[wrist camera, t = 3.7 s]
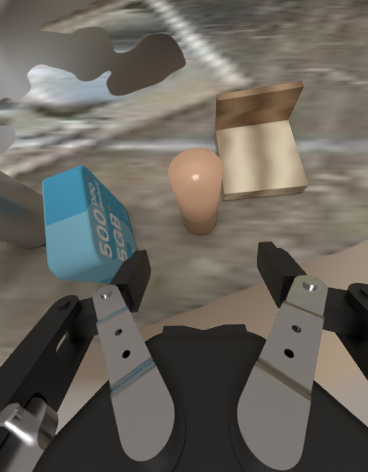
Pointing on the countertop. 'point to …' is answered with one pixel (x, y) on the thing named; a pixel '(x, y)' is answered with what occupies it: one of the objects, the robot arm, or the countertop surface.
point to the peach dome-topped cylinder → (197, 188)
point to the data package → (84, 228)
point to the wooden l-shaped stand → (258, 142)
